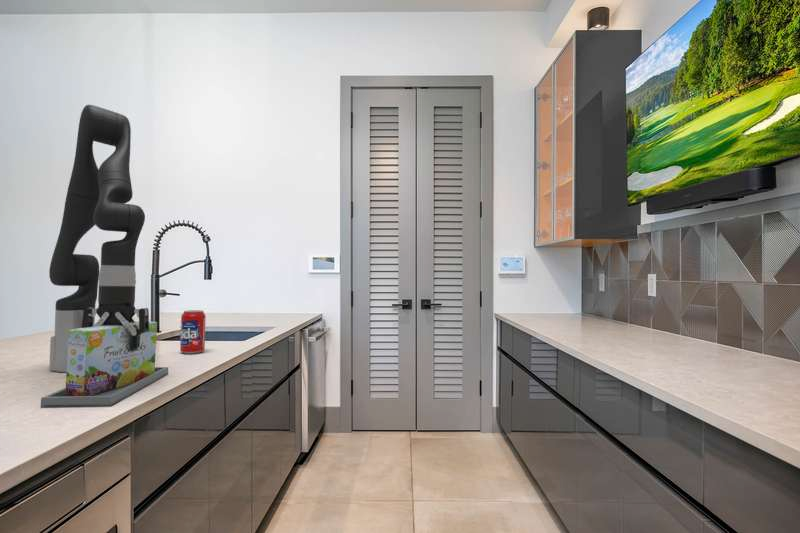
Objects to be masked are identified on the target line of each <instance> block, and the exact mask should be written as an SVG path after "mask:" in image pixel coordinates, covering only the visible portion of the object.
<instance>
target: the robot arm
mask: <svg viewBox="0 0 800 533" xmlns="http://www.w3.org/2000/svg"><path fill="white" fill-rule="evenodd" d="M131 131H132V128H131V123H130V120H129V118H128V117H127V116H125V115H124V114H122V113H118V112H116V111H113V110H109V109H106V108H103V107H100V106H97V105H93V104H86V105H85V106H84V107H83V109H82V111H81V113H80V117H79V121H78V130H77V138H76V144H75V145H76V146H75V154H74V155H75V156H74V161H73V166H72V171H71V175H70V179H69V183H68V186H67V187H68V188H67V191H66V197H65V202H64V208H63V214H62V221H61V223H60V224H61V225H60V230H59V234H58V237H57V240H56V243H55V246H54V250H53V253H52V255H51V256H52V257H51V261H50V264H49V271H48V272H49V274H48V277H49V279H50V282H51V283H52V284H53V285H55V286H58V287H59V286H60V287H77V290H76V291H75V292H74V293H71V294H69V295H67V296H65V297H61V298H59V299H57V300H56V301H55V307H54V308H55V309H54V311H55V314H54V316H55V317H54V335H53V336H51V337H50V346H49V366H48V368H49V371H50V372H57V373H67V357H68V340H69V330H71V329H78V328H87V327H95V326H103V325H124V327H125V328H126V329H128V330H129V332H130V333H131V334H132V336H131V337H130V351H135V350H137V348H139V346H140V335H141V334H142V333H145V332H148V331H149V321H150V314H149V308H148V307H143V308H136V306H135V303H136V284H137V279H136V276H137V275H136V249H137V244H138V241H139V239H140V234H141V232H142V230H143V226H144V225H145V222H146V219H145V218H146V215H145V212H144V210H143V208H142V207H141V206H140V205H136V204H132V203H131V204H130V203H129V202H130V201H132V199H133V195H134V194H133V193H134V192H133V186H132V181H131V180H132V179H131V174H130V173H131V172H130V161H131V138H132V136H131V135H132V132H131ZM94 142H96V143H100V144H104V145H107V146H112V147H114V148H115V149H114V151H113V153H112V154H110V155H109V156H108V157H107V158H106V159H105V160H104V161H103V162H102V163H100V166H99V167H98V165H97V162H96V160H95V155H94V148H93V147H94V146H93V145H94ZM95 226H96V227H97V228H98V229H99V230H102V231H104V232H105V231H106V232H120V233H125V236H124V237H123V238H122V239H118V240H110V241H108V240H107V241H105V242H103V243H102V244H101V247H100V248H101V249H100V250H101V251H100V263H99V261H98V258H97V257H96V256H94V255H92V254H80V253H78V254H77V253H74V252H75V250H76V248H77V246H78V243H79V242H80V241H81V240H82V238H83V237H84V236H85V235H86V234H87V233H88V232H89V231H90V230H92V229H93V228H94V227H95ZM97 302H98V307H97V308H96V303H97ZM135 315H136V316H137V318H138V321H139V327H138V326H137V323H136V321H135V319H134V318H133V317H135ZM96 316H98V317H99V319H98V320H97V321H96V320H95V319H96Z"/></svg>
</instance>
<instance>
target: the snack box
mask: <svg viewBox="0 0 800 533" xmlns="http://www.w3.org/2000/svg"><path fill="white" fill-rule="evenodd" d="M135 322H136V323H137V326H138V327H139V320H138V321H135ZM157 331H158V322H157V321H152V320H151V321H150V320H149V331H148V332H145V333H142V334H141V335H140V346H139V348H137V350H135V351H130V337H131V336H132V334H131V333H130V332H129V330H128V329H126V328H125V327H124V325H103V326H95V327H87V328H78V329H71V330H69V340H68V357H67V372H66V376H65V388H66V390H65V396H92V395H96V394H99V393H102V392H106V391H109V390H112V389H116V388H119V387H123V386H126V385H129V384H133V383H135V382H137V381H139V380H141V379H143V378H145V377H147V376H149V375H151V374H153V373H155V367H156V356H157V355H156V354H157V353H156V351H157Z"/></svg>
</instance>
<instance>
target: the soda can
mask: <svg viewBox="0 0 800 533" xmlns="http://www.w3.org/2000/svg"><path fill="white" fill-rule="evenodd" d="M204 311H205V310H201V309H193V310H192V309H188V310H187V309H186V310H183V313H182V314H181V317H180V318H181V319H180V342H179V343H180V348H179V349H180V352H181V353H182V354H184V355H197V354H196V353H198V354H201V353H202V352H204V351H205V346H206V345H205V344H206V343H205V342H206V318H207V316H206V314H205V312H204Z"/></svg>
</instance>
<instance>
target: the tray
mask: <svg viewBox="0 0 800 533" xmlns="http://www.w3.org/2000/svg"><path fill="white" fill-rule="evenodd" d="M168 375H169V366H155V373H153V374H151V375H149V376H147V377H145V378H143V379H141V380H139V381H137V382H135V383H133V384H129V385H126V386H123V387H119V388H116V389H112V390H109V391H106V392H102V393H99V394H96V395H92V396H65V390H66V387H64V388H62V389H60V390H56V391H54V392H52V393H50V394H48V395H45V396H42V397H41V398H40V408H86V407H87V408H88V407H90V408H94V407H95V408H96V407H101V408H102V407H112V406H114V405H116V404H117V403H120V402H122V401H123V400H125V399H126V398H128V397H130V396H133V395H134V394H136V393H137V392H139V391H141V390H143V389H144V388H146V387H148V386H150V385H151V384H154V383H155V382H157V381H159V380H160V379H162V378H164V377H166V376H168Z"/></svg>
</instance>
